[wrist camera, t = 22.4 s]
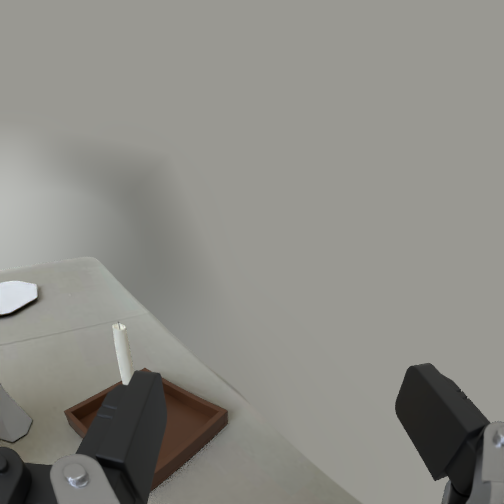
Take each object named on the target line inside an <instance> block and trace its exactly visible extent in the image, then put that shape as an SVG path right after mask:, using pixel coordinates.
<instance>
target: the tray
mask: <svg viewBox="0 0 504 504" xmlns="http://www.w3.org/2000/svg"><path fill="white" fill-rule="evenodd" d="M140 371H146V372H151V371H150V370H148V369H146V368H144V369H142V370H140ZM161 378H162V377H161ZM119 384H123V383H122V381H120V382H118V383H116V384H115V385H113V386H111V387H109V388H107V389H105V390H104V391H102V392H100V393H98V394H96V395H94V396H92V397H90V398H88V399H87V400H85V401H83V402H81V403H79V404H77V405H75V406H73V407H71V408H69V409H67V410H65V411H64V413H65V415H66V417H67V420H68V422H69V424H70V425H71V427H72V428H73V429H74V430H75V431H76V432H77V433H78V434H79V435H80V436H81V437H82V438H84V436H85V435H86V433H87V431H88V429H89V427H90V425H91V423H92V421H93V419H94V417H95V416H96V414H97V412H98V410H99V408H100V407H101V406H102V405H101V404H102V402H103V401H104V399H105V397H106V395H107V393H108V392H110V391H111V390H112V389H113V388H115V387H116V386H117V385H119ZM162 384H163V390H164V396H165V401H166V407H167V424H166V429H165V433H164V437H163V440H162V444H161V448H160V452H159V456H158V460H157V464H156V468H155V472H154V476H153V481H152V485H151V489H150V492H151V491H152V490H153V489H154V488H156V487H157V486H158V485H159V484H161V483H162V482H163V481H164V480H165V479H167V478H168V477H169V476H170V475H171V474H173V473H174V472H175V471H176V470H177V469H179V468H180V467H181V466H182V465H183V464H184V463H185V462H187V461H188V460H189V459H190V458H191V457H192V456H193V455H195V454H196V453H197V452H198V451H199V450H200V449H201V448H202V447H203V446H204V445H206V444H207V443H208V442H209V441H210V440H211V439H212V438H213V437H214V436H215V435H216V434H217V433H218V432H219V431H220V430H222V429H223V428H224V427H225V426H226V425H227V424H228V411H227V410H225V409H223V408H221V407H219V406H216V405H214V404H212V403H210V402H208V401H206V400H204V399H202V398H200V397H198V396H196V395H194V394H192V393H190V392H188V391H186V390H184V389H182V388H180V387H178V386H176V385H175V384H173V383H171V382H169V381H167V380H165V379H164V378H162Z"/></svg>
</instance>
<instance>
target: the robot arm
mask: <svg viewBox="0 0 504 504" xmlns="http://www.w3.org/2000/svg"><path fill="white" fill-rule="evenodd" d="M101 405H102V406H101V407H100V408H99V410H98V412H97V414H96V416H95V417H94V419H93V421H92V423H91V425H90V427H89V429H88V431H87V433H86V435H85V436H84V438H83V440H82V442H81V444H80V446H79V448H78V450H77V452H76V453H75V454H70V455H66V456H64V457H62V458H60V459H58V460H57V461H56V462H55V463H54V465H43V464H33V463H24V462H23V461H22V459H21V458H20V456H19V455H18V454H17V453H16V452H15V451H14V450H12V449H10V448H7V447H0V504H147V502H148V498H149V493H150V489H151V485H152V481H153V476H154V472H155V468H156V464H157V460H158V456H159V452H160V448H161V444H162V440H163V437H164V433H165V429H166V424H167V407H166V401H165V396H164V390H163V384H162V378H161V375H160V373H155V372H146V371H137V370H136V371H135V372H134V374H133V376H132V378H131V380H130V382H129V384H128V385H123V384H119V385H117V386H116V387H115V388H113V389H112V390H111V391H110V392H108V393H107V395H106V397H105V399H104V401H103V402H102V404H101ZM395 410H396V414H397V417H398V418H399V420H400V422H401V423H402V425H403V427H404V429H405V430H406V432H407V434H408V435H409V437H410V439H411V440H412V442H413V444H414V446H415V447H416V449H417V451H418V452H419V454H420V456H421V458H422V459H423V461H424V463H425V465H426V466H427V468H428V470H429V472H430V473H431V475H432V477H433V479H434V480H435V481H436V480H439V479H441V478H444V477H446V476H448V477H449V479H450V480H449V481H448V482H447V484H446V486H445V490H444V495H443V499H442V503H441V504H504V422H493V423H490V422H489V421H488V420H487V418H486V417H485V416H484V415H483V414H482V413H481V412H480V410H479V409H478V408H477V407H476V406H475V405H474V404H473V402H471V400H470V399H467V396H466V395H465V394H464V392H463V391H462V392H461V389H459V387H458V386H457V385H456V384H455V383H454V382H453V381H452V380H450V379H449V378H447V377H445V376H444V375H442V374H440V373H439V371H438V370H437V369H436V368H435V367H434V366H433V365H432V364H430V363H426V364H420V365H414V366H410V367H409V368H408V369H407V371H406V374H405V377H404V380H403V383H402V386H401V388H400V391H399V394H398V397H397V399H396V405H395Z"/></svg>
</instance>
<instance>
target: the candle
mask: <svg viewBox="0 0 504 504" xmlns="http://www.w3.org/2000/svg"><path fill="white" fill-rule="evenodd" d="M112 327H113V335H114V342H115V348H116V353H117V359H118V364H119V369H120V374H121V379H122V383H123V385H128V384H129V382H130V380H131V378H132V376H133V374H134V368H133V363H132V358H131V352H130V346H129V341H128V336H127V331H126V327H125V326H124V325H123V324H119V322H118V324H114V325H113V326H112Z"/></svg>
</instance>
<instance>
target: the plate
mask: <svg viewBox="0 0 504 504" xmlns="http://www.w3.org/2000/svg"><path fill="white" fill-rule="evenodd" d="M37 297H38V295H37V285H36V284H32V283H26V282H21V281H8V282H2V283H0V315H6V314H10V313H13V312H15V311H16V310H18V309H20V308H21V307H23V306H25V305H27V304H28V303H30V302H32V301H34V300H35V299H36V298H37Z"/></svg>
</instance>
